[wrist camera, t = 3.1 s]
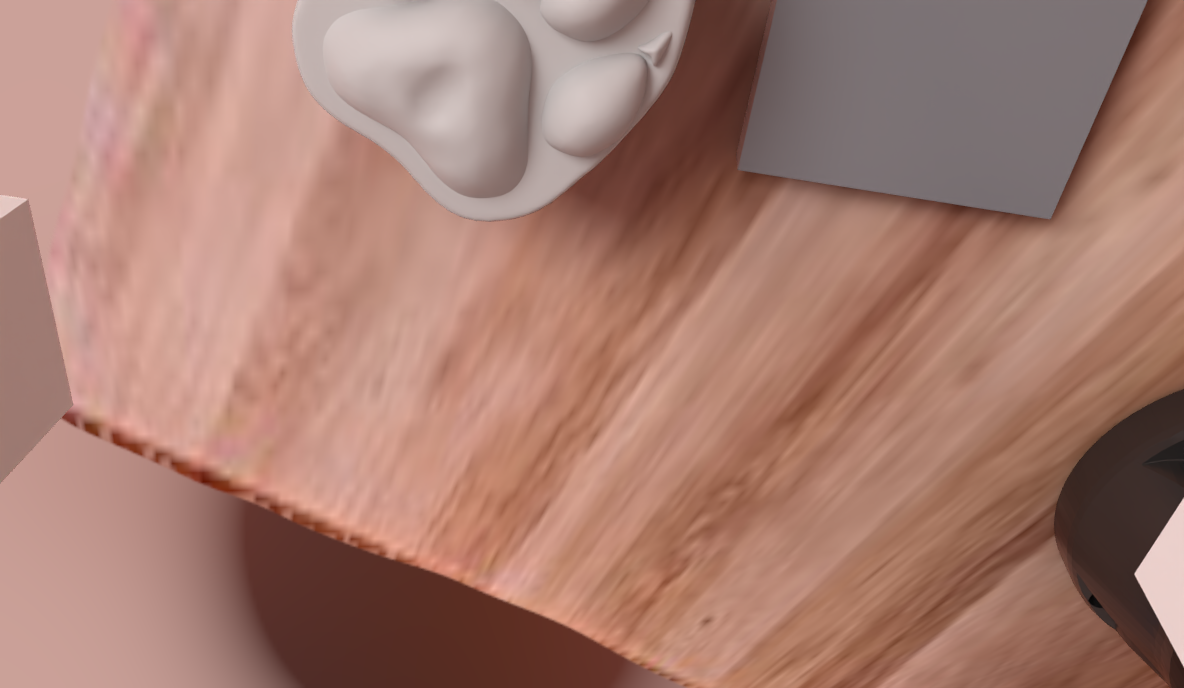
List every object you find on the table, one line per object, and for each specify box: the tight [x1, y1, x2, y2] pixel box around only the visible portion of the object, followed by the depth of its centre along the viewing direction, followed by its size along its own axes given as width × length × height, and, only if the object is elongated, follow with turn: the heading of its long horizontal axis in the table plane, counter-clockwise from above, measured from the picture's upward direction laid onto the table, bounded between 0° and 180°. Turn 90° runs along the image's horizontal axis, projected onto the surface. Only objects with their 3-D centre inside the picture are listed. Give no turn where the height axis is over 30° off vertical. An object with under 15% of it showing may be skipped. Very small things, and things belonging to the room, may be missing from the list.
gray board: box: [736, 0, 1147, 219], centre depth 32 cm, size 14×12×2 cm
